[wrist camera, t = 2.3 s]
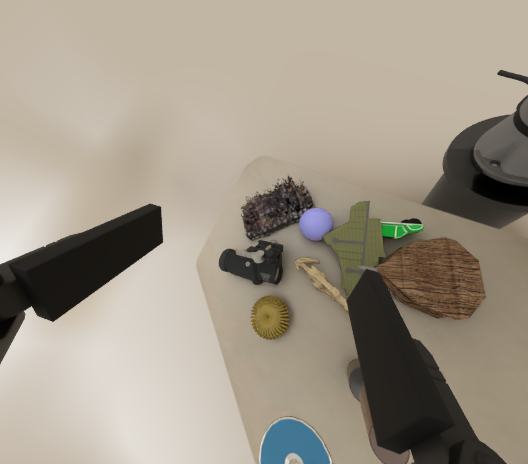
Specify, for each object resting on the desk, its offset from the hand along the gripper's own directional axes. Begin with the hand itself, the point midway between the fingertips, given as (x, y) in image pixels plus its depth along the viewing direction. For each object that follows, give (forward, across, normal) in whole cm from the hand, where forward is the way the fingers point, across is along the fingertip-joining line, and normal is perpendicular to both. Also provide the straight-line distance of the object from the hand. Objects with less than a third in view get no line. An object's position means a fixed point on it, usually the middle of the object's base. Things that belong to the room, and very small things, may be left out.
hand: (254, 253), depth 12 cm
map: (+24, +15, -10) cm, 30 cm away
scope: (+24, -5, -14) cm, 28 cm away
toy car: (+28, +19, -3) cm, 34 cm away
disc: (+4, +17, -33) cm, 37 cm away
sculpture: (+18, +6, -22) cm, 29 cm away
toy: (+16, +18, -17) cm, 30 cm away
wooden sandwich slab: (+21, +23, -10) cm, 33 cm away
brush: (+11, +21, -25) cm, 34 cm away
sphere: (+28, +11, -8) cm, 31 cm away
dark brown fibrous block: (+36, -2, -12) cm, 38 cm away
